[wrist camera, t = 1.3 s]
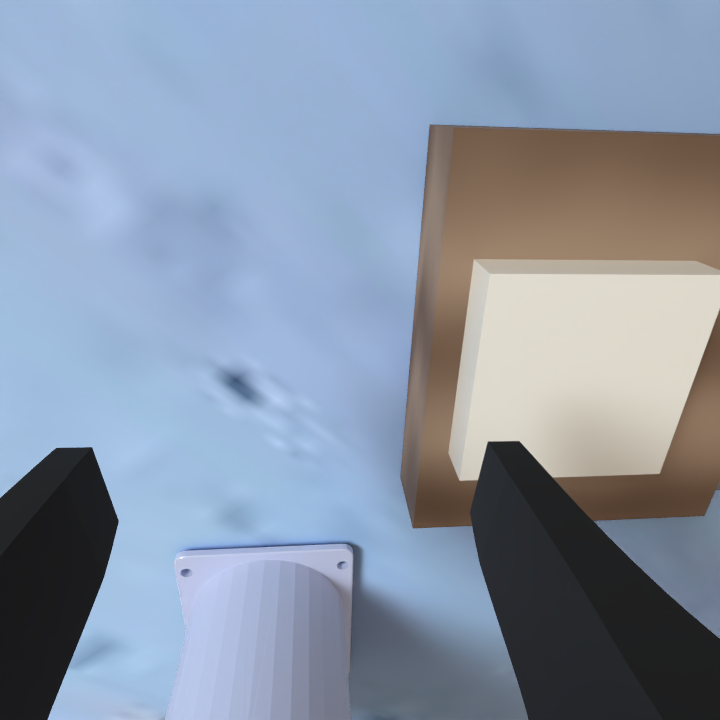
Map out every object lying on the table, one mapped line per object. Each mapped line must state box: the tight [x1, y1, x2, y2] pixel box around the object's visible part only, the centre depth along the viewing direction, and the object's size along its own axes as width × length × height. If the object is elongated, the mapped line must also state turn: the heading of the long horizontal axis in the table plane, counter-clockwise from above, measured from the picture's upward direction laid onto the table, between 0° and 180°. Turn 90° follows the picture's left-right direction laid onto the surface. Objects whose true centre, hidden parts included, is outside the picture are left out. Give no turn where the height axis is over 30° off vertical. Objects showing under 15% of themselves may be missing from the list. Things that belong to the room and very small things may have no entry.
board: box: [401, 125, 720, 528], centre depth 18 cm, size 14×12×3 cm
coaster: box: [448, 259, 720, 481], centre depth 16 cm, size 7×7×2 cm
